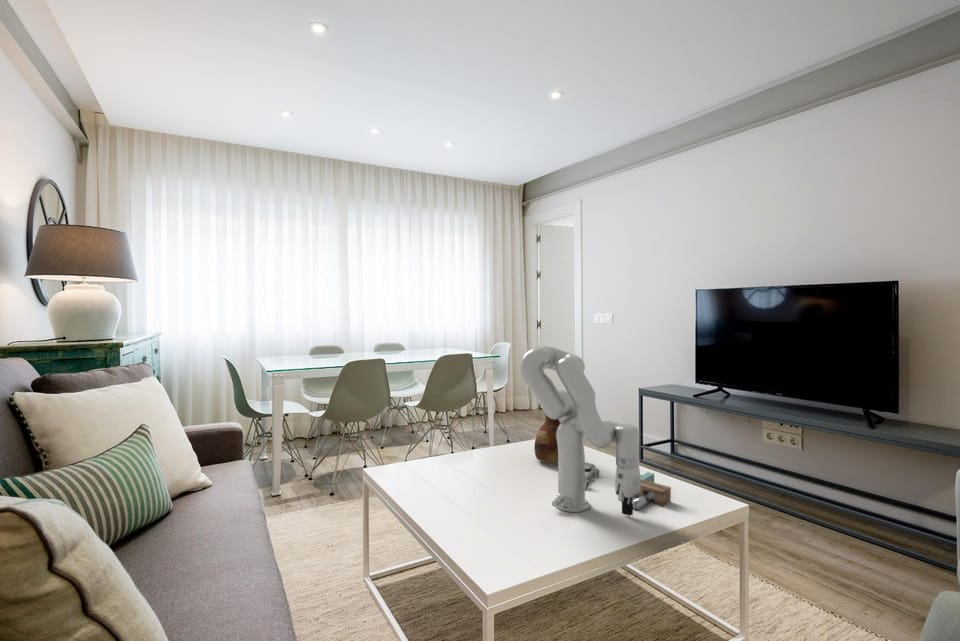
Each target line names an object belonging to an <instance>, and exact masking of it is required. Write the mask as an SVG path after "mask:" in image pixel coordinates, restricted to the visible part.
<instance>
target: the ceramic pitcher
mask: <svg viewBox="0 0 960 641" xmlns="http://www.w3.org/2000/svg"><path fill="white" fill-rule="evenodd" d="M544 415H545V416H544V423H542V425H541V426H540V427H539V429H538V431H537V433H536V436H535V440H534V455H535V458H536V459H537V460H539V461H540V462H544V463H551V464H558V444H557V436H556V434H557V429H558V427H559V425H560V424H561V423H562V422H561V421H560V419H551V418H549V417H548V416H547V415H546V414H545V413H544Z"/></svg>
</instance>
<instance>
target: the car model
mask: <svg viewBox="0 0 960 641" xmlns="http://www.w3.org/2000/svg"><path fill="white" fill-rule="evenodd" d="M598 476H600V469H599V468H597V467H596V465H595V464H593V463H590V462H589V463H587V462H585V490H588V489H589V484H590V483H591V482H592V481H593V479H594V480H595V478H596V479H598V478H599V477H598Z"/></svg>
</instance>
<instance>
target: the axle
mask: <svg viewBox="0 0 960 641" xmlns="http://www.w3.org/2000/svg"><path fill="white" fill-rule="evenodd" d="M652 501H654V493H652V492H647V493H645V494H644V495H642V496H641V497H639V498H638V499H636V498H635V499H633V509H634V510H633V511H639V510H641V509H642V508H643V507H645V506H646V505H648V504H649V503H651V502H652ZM631 503H632V502H631Z"/></svg>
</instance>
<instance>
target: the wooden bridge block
mask: <svg viewBox="0 0 960 641" xmlns="http://www.w3.org/2000/svg"><path fill="white" fill-rule="evenodd" d="M640 482H641V490H640V492H638V493H637V494H635V495H634V499H636V498H637V499H638V498H639V497H641V496H642V495H644V494H645V493H647V492H652V493H654V500H653V504H654V505H657V506H661V507H663V506H664V507H666V506H667V505H668V504H670V503H671V499H672V498H671V497H672V496H671V495H672V494H671V493H672V492H671V490H672V487H671V486H669V485H663V484H659V483H658V482H657V483H656V482H654V483H653V482H649V481H645V480H640ZM669 502H670V503H669ZM665 505H666V506H665Z"/></svg>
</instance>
